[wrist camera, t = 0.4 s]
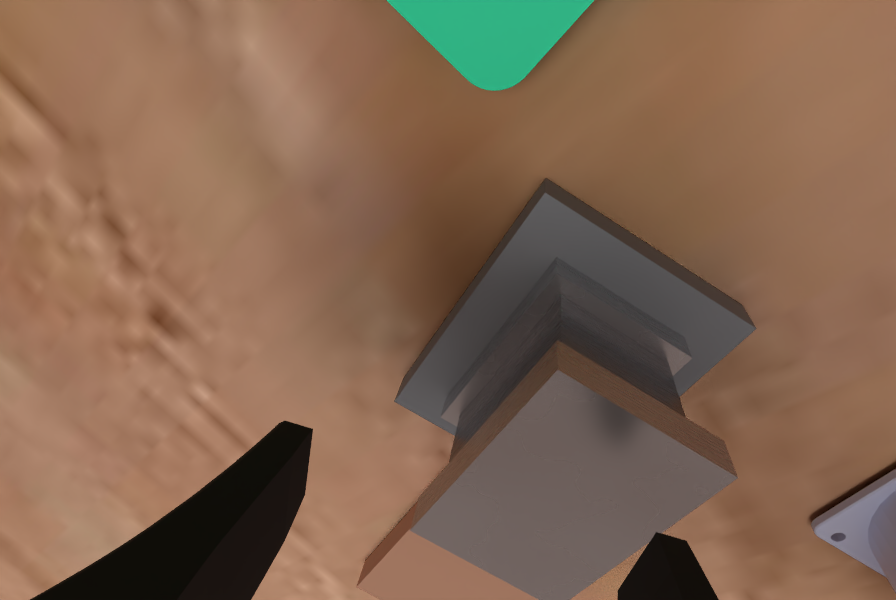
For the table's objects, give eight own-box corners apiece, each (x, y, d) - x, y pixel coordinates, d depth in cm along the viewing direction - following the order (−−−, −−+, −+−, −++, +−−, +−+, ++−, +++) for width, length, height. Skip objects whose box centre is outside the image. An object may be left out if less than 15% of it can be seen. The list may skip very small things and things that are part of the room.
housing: (684, 336, 18) (737, 477, 12) (556, 459, 21) (556, 609, 16) (556, 256, 17) (557, 369, 12) (446, 396, 21) (409, 530, 15)
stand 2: (742, 305, 18) (756, 328, 17) (564, 470, 23) (564, 497, 22) (545, 178, 17) (545, 192, 16) (403, 378, 22) (394, 401, 21)
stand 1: (610, 536, 25) (612, 566, 23) (492, 627, 30) (489, 655, 28) (461, 452, 24) (455, 478, 23) (365, 560, 29) (356, 587, 27)
